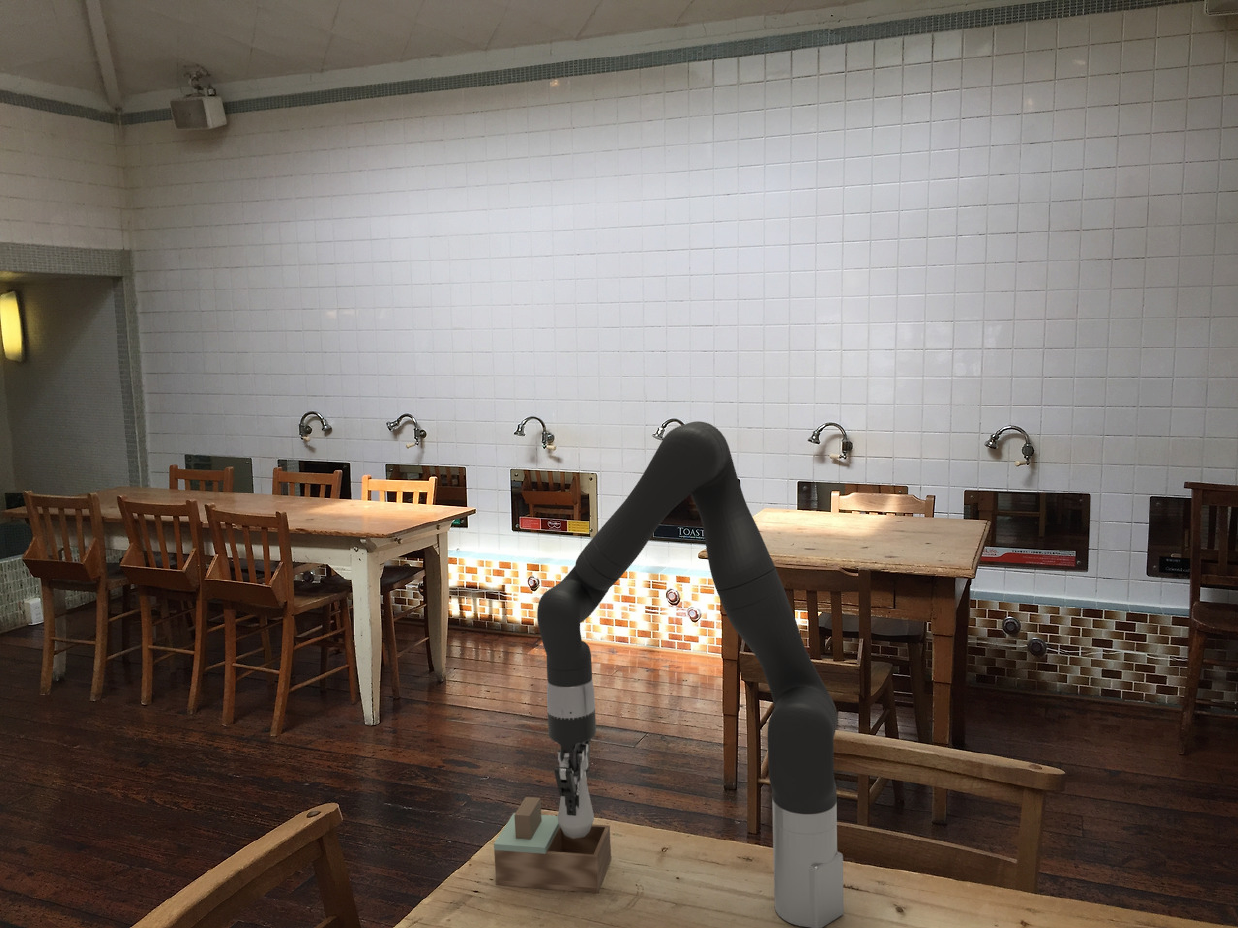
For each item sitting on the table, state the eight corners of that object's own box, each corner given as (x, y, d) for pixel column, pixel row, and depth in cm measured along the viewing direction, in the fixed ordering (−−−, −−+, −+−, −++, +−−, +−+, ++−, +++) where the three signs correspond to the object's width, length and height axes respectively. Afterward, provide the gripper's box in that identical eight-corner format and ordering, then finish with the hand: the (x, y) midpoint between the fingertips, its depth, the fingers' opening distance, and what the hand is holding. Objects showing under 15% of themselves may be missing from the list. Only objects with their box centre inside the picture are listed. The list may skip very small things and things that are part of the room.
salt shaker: (578, 845, 146) (574, 765, 144) (550, 834, 149) (547, 757, 148) (601, 829, 150) (598, 752, 149) (574, 819, 154) (571, 743, 152)
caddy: (611, 859, 155) (609, 825, 154) (598, 892, 145) (596, 856, 145) (515, 852, 158) (513, 818, 157) (496, 884, 149) (494, 848, 148)
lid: (562, 821, 156) (560, 793, 155) (545, 853, 146) (543, 823, 145) (514, 818, 157) (512, 790, 157) (494, 849, 148) (492, 819, 147)
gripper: (583, 725, 140) (588, 834, 142) (604, 691, 153) (608, 791, 156) (535, 723, 141) (540, 831, 143) (559, 689, 155) (564, 788, 157)
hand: (575, 810), depth 149 cm, fingers closed on salt shaker, 3 cm apart
